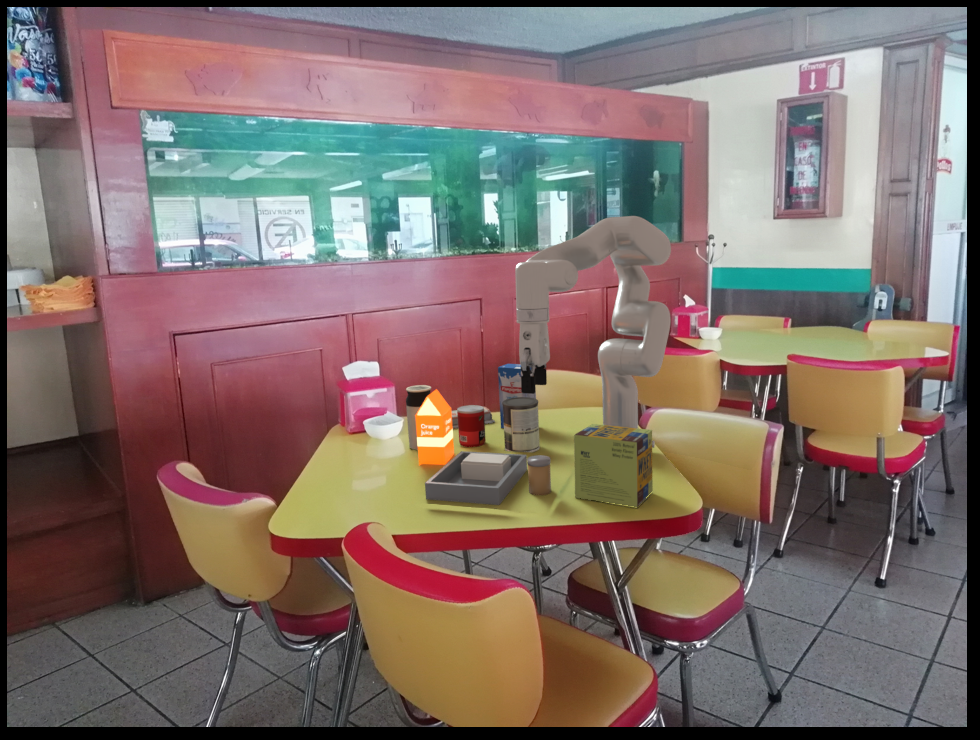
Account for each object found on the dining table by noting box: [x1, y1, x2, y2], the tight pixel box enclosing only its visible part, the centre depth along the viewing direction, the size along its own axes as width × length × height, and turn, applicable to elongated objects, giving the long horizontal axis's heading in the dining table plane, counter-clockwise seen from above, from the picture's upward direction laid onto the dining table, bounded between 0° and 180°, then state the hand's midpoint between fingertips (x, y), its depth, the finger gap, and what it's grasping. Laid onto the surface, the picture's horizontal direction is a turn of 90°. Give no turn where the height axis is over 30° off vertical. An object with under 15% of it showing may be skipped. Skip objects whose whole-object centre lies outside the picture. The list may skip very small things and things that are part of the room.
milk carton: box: [497, 363, 537, 429], centre depth 219 cm, size 10×6×20 cm, turn 58°
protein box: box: [573, 423, 654, 508], centre depth 159 cm, size 10×15×16 cm
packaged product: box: [451, 406, 496, 430], centre depth 229 cm, size 18×5×10 cm
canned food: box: [456, 404, 487, 448], centre depth 205 cm, size 8×8×11 cm
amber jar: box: [527, 454, 552, 496], centre depth 162 cm, size 5×5×9 cm
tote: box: [424, 450, 528, 510], centre depth 169 cm, size 18×24×5 cm
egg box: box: [461, 453, 511, 481], centre depth 175 cm, size 11×7×5 cm, turn 72°
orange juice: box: [415, 388, 455, 467], centre depth 189 cm, size 8×9×20 cm
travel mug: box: [405, 384, 432, 451], centre depth 204 cm, size 8×8×18 cm
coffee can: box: [502, 397, 541, 453], centre depth 198 cm, size 10×10×14 cm
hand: (534, 388), depth 161 cm, fingers open, 9 cm apart
